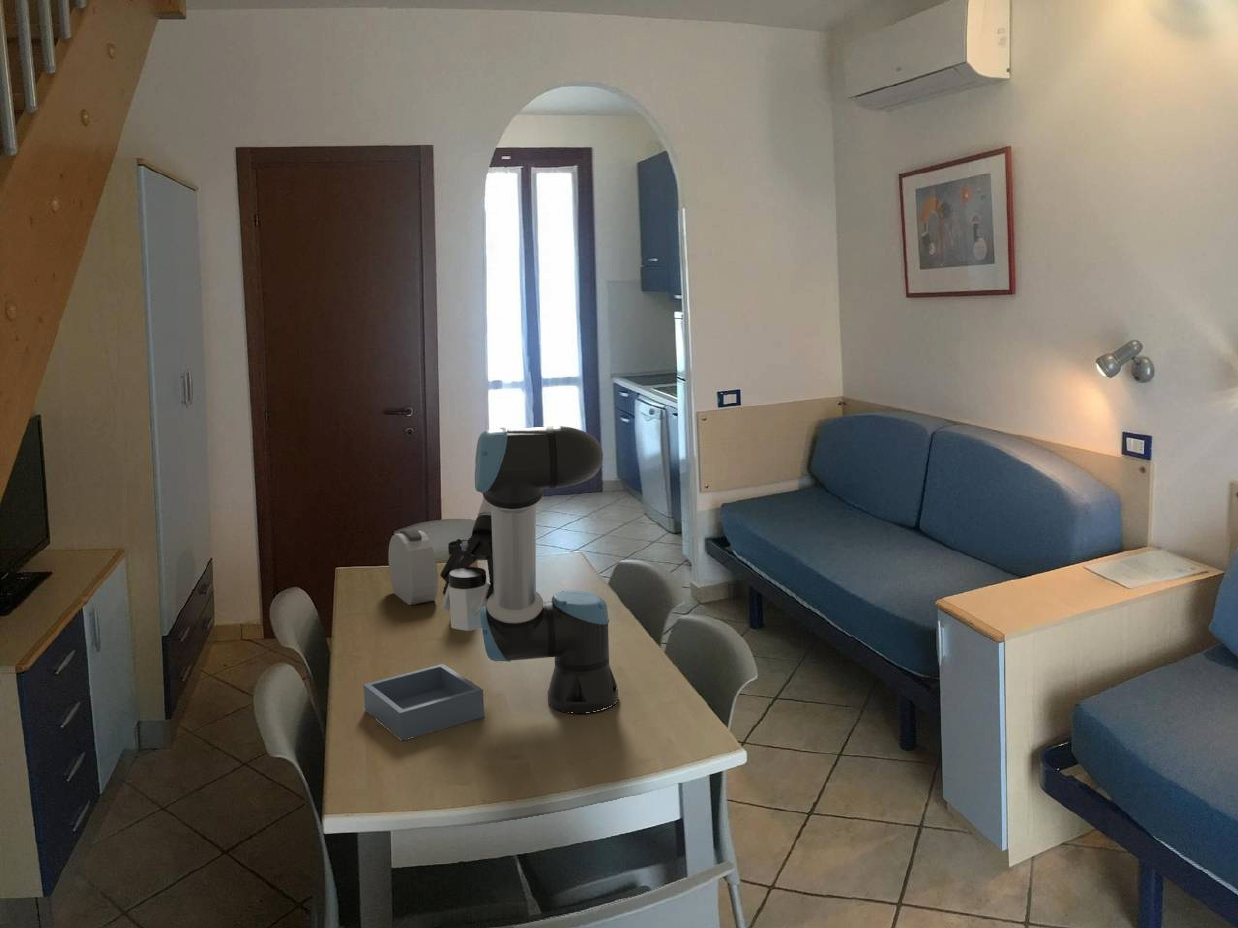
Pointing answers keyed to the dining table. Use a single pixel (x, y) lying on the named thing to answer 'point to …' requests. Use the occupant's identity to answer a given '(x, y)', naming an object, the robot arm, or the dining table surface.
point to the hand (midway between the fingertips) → (462, 611)
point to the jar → (466, 597)
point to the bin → (423, 701)
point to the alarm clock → (413, 567)
